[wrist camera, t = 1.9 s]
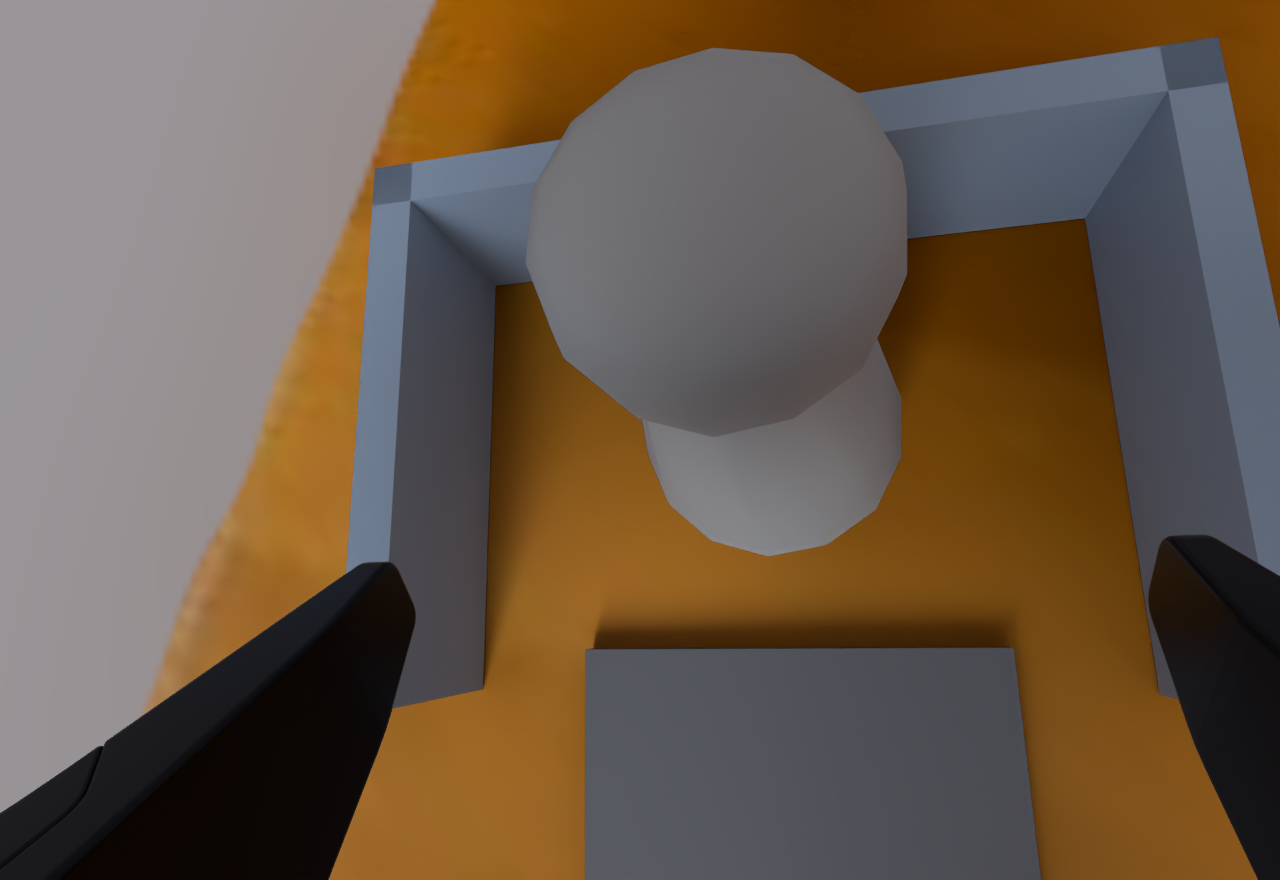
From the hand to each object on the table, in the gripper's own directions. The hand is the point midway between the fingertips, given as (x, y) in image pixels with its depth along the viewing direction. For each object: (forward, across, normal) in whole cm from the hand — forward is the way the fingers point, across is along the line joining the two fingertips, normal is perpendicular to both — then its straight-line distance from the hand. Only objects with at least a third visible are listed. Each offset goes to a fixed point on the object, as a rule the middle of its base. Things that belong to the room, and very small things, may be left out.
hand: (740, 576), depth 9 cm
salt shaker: (+10, 0, +5) cm, 11 cm away
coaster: (+3, 0, +12) cm, 12 cm away
